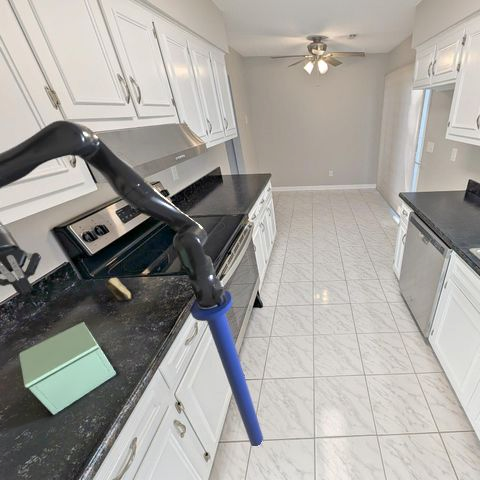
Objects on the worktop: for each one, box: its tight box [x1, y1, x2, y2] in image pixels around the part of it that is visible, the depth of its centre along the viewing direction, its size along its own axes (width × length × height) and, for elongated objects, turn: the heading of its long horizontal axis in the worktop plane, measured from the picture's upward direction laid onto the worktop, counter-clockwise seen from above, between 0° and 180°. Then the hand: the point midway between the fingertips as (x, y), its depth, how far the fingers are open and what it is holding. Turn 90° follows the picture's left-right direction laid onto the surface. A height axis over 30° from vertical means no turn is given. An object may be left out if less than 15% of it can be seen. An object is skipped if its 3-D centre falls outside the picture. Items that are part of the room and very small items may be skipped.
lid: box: [18, 321, 99, 388], centre depth 69 cm, size 17×14×1 cm
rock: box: [104, 276, 132, 301], centre depth 109 cm, size 11×9×10 cm
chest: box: [28, 327, 117, 416], centre depth 72 cm, size 16×14×11 cm
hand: (27, 292), depth 68 cm, fingers closed
